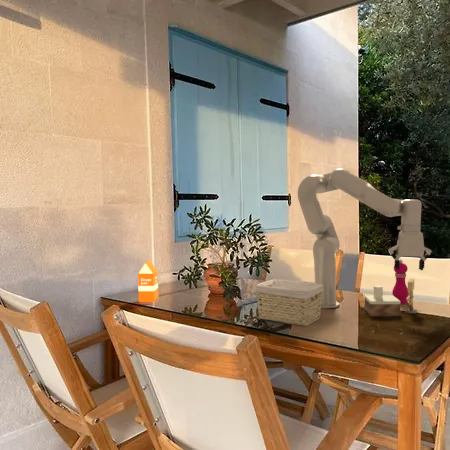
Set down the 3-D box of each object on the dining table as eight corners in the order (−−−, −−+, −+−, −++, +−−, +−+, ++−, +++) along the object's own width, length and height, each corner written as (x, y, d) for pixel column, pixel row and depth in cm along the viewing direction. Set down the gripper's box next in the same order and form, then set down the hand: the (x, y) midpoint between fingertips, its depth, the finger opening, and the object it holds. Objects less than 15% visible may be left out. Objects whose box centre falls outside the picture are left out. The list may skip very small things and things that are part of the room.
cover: (370, 304, 191) (370, 289, 191) (364, 297, 203) (364, 283, 202) (400, 304, 190) (400, 289, 189) (392, 297, 202) (392, 283, 201)
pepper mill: (410, 304, 210) (410, 260, 209) (393, 304, 212) (393, 260, 210) (407, 300, 217) (407, 258, 216) (391, 300, 219) (391, 258, 217)
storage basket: (325, 318, 189) (324, 283, 188) (308, 328, 176) (307, 290, 175) (273, 311, 203) (273, 278, 202) (254, 320, 190) (253, 284, 189)
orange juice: (158, 299, 233) (157, 260, 232) (154, 303, 225) (153, 262, 223) (143, 299, 234) (142, 260, 233) (138, 303, 225) (137, 262, 224)
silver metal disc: (407, 313, 194) (407, 311, 193) (404, 311, 198) (404, 309, 198) (418, 313, 193) (418, 311, 193) (414, 311, 197) (414, 309, 197)
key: (411, 314, 188) (411, 283, 188) (406, 313, 189) (406, 283, 189) (414, 307, 199) (414, 279, 198) (409, 307, 199) (409, 278, 199)
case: (370, 316, 191) (370, 304, 191) (363, 309, 203) (363, 297, 203) (401, 316, 190) (401, 304, 190) (392, 309, 202) (392, 297, 202)
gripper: (391, 229, 191) (390, 270, 192) (435, 230, 189) (433, 271, 190) (387, 228, 198) (385, 267, 199) (428, 228, 197) (427, 268, 198)
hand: (409, 269), depth 195 cm, fingers open, 9 cm apart
